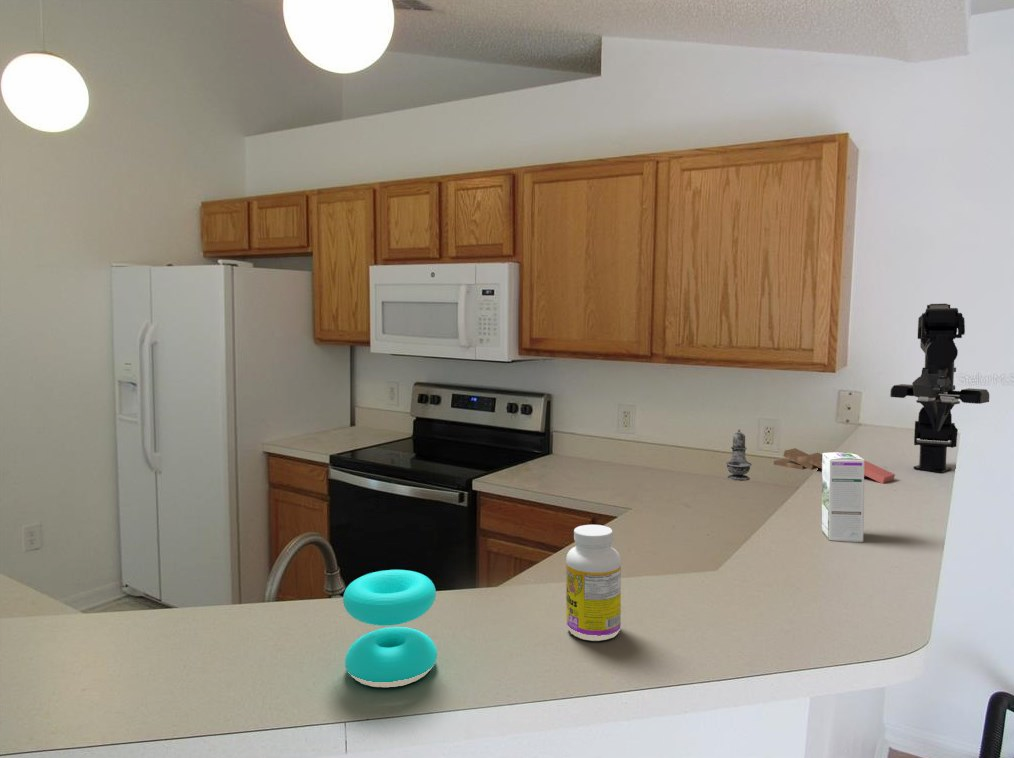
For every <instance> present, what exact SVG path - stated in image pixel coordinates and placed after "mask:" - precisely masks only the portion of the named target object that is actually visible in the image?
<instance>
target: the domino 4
mask: <svg viewBox="0 0 1014 758" xmlns="http://www.w3.org/2000/svg"><path fill="white" fill-rule="evenodd" d="M864 475H865V476H867V477H866V478H869V479H872V480H874V481H876V482H878V483H880V484H882V483H883V484H886V483H889V481H890V482H893V481H894V479H895V476H896V474H895V473H893V472H891V471H889V470H887V469H884V468H882V467H880V466H878V465H875V464H873V463H871V462H869V461H867V460H865V459H864ZM892 480H893V481H892ZM885 482H886V483H885Z"/></svg>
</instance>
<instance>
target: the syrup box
mask: <svg viewBox="0 0 1014 758" xmlns="http://www.w3.org/2000/svg"><path fill="white" fill-rule="evenodd" d="M822 455H823V459H822V469H821V526H820V527H821V532H822V533H823V534H824V536H825V537H826V538H827V539H828V540H829V541H832V542H833V541H835V542H848V543H849V542H850V543H852V542H853V543H854V542H855V543H864V527H865V526H864V525H865V524H864V523H865V521H864V520H865V519H864V518H865V478H864V460H865V459H864V458H863V457H861V456H859V455H858V454H856V453H855V452H844V451H843V452H842V451H841V452H840V451H836V452H835V451H834V452H823V453H822Z"/></svg>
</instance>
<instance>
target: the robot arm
mask: <svg viewBox="0 0 1014 758" xmlns="http://www.w3.org/2000/svg"><path fill="white" fill-rule="evenodd" d="M965 321H966V320H965V317H964V316H963V313H962V312H959V309H958V308H957V307H951V304H949V303H930V304H927V305H926V309H925V312H923V313H922V314H921V315H920V316H919V317H918V321H917V340H920V342H919V344H920V345H919V347H920V349H921V350H922V351H923V353H924V367H922V370H921V374H920V376H918V377H917V378H916V379H915V380H914V381H912V382H911V383H912V384H903V383H902V384H895V385H893V386H892V387H891V389H890V394H889V395H890V396H889V397H890V398H900V399H906V397H909V396H910V397H915V398H917V400H915V402H916V403H918V404H921V405H922V407H921V408H920V410H919V412H918V418H917V419H918V420H915V421H914V436H913V443H914V444H913V445H914V446H919V462H918V465H915V466H912V467H913V469H914V470H921V471H927V472H934V473H938V474H939V473H940V474H942V473H944V472H945V473H946V472H947V471H951V470H952V467H950V466H947V454H948V453H947V448H951V449H953V448H957V445H958V444H957V442H958V441H957V440H958V432H959V431H958V430H959V429H958V428H957V427H956V425H955V424H956V423H954V422H952V419H953V416H952V412H951V410H952V409H953V408H954V406H955V405H960V404H961V402H962V403H964V404H986V403H989V402H990V392H989V391H988V389H986V388H985V389H983V388H965V389H964V388H962V389H961V390H956V385H955V384H954V377H955V376H954V375H955V373H956V372H957V367H956V366H955V360H956V359H957V357H958V355H959V354H958V351H959V350H958V347H957V346H956V343H955V341H954V340H955V339H962V338H963V336H964V335H966V334H965V333H966V325H965V323H966V322H965Z"/></svg>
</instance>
